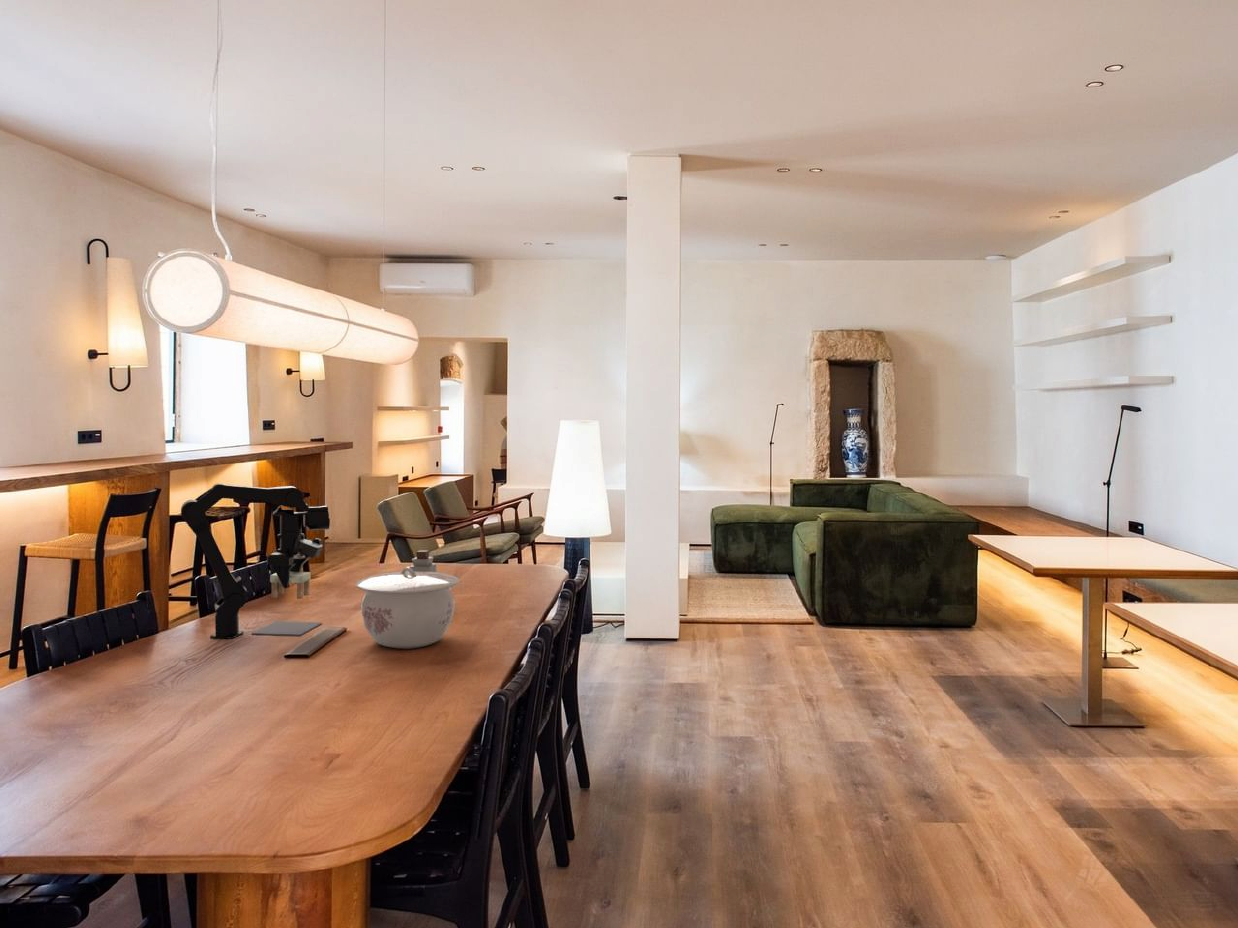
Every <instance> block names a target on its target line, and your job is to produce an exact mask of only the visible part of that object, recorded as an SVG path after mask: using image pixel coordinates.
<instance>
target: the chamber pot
mask: <svg viewBox="0 0 1238 928" xmlns="http://www.w3.org/2000/svg"><path fill="white" fill-rule="evenodd" d="M460 582H461V580H460V579H459V578H458V577H457V576H454V575H452V574H447V573H444V572H437V571H436V572H429V571H413V570H412V569H411V568H410V567H409V566H404V567H403V569H402V570H401V571H394V572H392V571H391V572H385V573H379V574H373V575H371V576H367V577H365V578H362V579H360V580H358V581H357V582H355V588H356V589H359V590H362V591H363V592H364V595H363V597H362V598H361V602H360V606H361V615H362V620H363V624H364V628H365V629H366V631H367V632H368V634H369V635H370V637H371V639H372V640H373V641H374V642H375V643H376V644H379V645H380V646H383V647H387V648H391V649H396V650H397V649H398V650H410V649H411V650H412V649H418V648H419V649H420V648H424V647H427V646H430V645H433V644H434V643H437V642H439V641H440V640H441V639H443V637H444V636H445V633H446V632H447V630H448V629H449V627H450V625H451V623H452V622H453V619H454V612H455V608H456V607H455V606H456V602H455V601H456V598H455V596H454V594H453V592H452V591H451V590H452V588H453V587H456V586H458V584H459V583H460Z"/></svg>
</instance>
